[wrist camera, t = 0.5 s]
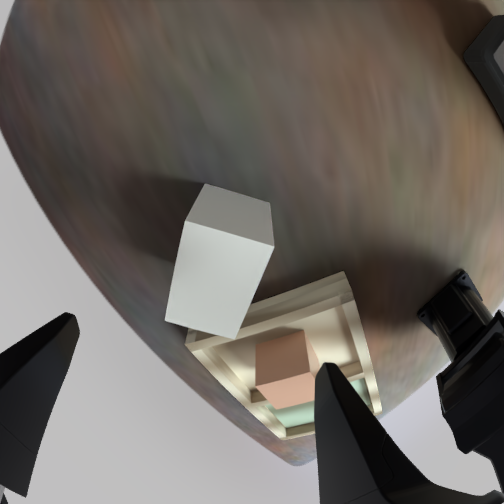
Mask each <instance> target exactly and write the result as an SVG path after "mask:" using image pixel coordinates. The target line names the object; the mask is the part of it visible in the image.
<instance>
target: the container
mask: <svg viewBox="0 0 504 504" xmlns="http://www.w3.org/2000/svg"><path fill="white" fill-rule="evenodd" d="M464 59H465V62H466V63H467V64H468V66H469V67H470V69H471V70H472V72H473V73H474V75H475V76H476V78H477V79H478V81H479V82H480V84H481V85H482V87H483V89H484V90H485V92H486V94H487V95H488V97H489V99H490V100H491V102H492V104H493V106H494V107H495V109H496V111H497V113H498V115H499V117H500V118H501V120H502V122H503V124H504V15H498V16H494V17H493V18H492V19H491V21H490V22H489V23H488V24H487V26H486V27H485V28H484V29H483V30H482V32H481V33H480V34H479V35H478V37H477V38H476V39H475V40H474V41H473V43H472V44H471V45H470V46H469V48H468V49H467V50H466V51H465V52H464Z"/></svg>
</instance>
